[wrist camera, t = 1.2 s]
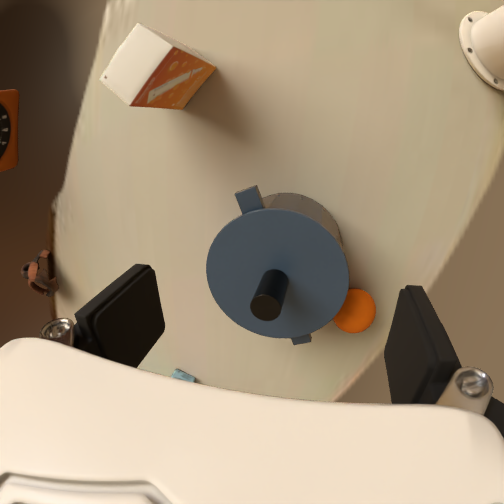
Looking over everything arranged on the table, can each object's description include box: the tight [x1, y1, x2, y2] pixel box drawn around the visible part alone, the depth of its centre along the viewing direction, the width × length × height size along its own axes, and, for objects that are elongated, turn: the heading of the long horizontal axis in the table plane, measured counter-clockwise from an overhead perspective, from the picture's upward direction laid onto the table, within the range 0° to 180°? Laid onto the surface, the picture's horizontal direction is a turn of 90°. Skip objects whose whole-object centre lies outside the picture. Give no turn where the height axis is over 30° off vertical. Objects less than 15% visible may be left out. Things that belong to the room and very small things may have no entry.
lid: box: [206, 208, 349, 338], centre depth 31 cm, size 16×16×7 cm
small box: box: [99, 23, 217, 110], centre depth 30 cm, size 8×6×13 cm
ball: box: [333, 289, 376, 333], centre depth 40 cm, size 6×6×6 cm
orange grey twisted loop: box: [21, 250, 59, 297], centre depth 56 cm, size 12×10×8 cm
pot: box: [235, 185, 343, 345], centre depth 38 cm, size 15×21×10 cm
